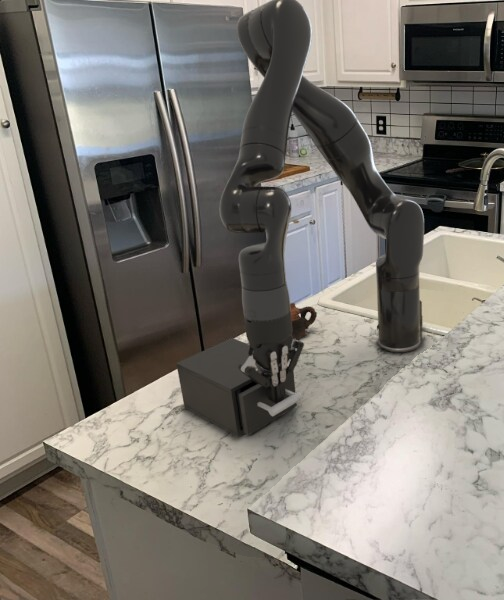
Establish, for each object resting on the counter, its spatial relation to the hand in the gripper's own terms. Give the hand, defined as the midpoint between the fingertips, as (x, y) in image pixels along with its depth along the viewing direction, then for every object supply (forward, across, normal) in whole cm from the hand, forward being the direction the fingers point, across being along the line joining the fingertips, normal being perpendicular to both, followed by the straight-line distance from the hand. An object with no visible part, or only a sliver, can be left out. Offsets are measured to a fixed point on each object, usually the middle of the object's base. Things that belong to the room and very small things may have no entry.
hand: (277, 400), depth 106 cm
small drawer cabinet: (+6, 0, -12) cm, 13 cm away
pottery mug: (+6, -28, -27) cm, 39 cm away
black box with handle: (+5, 0, -7) cm, 8 cm away
